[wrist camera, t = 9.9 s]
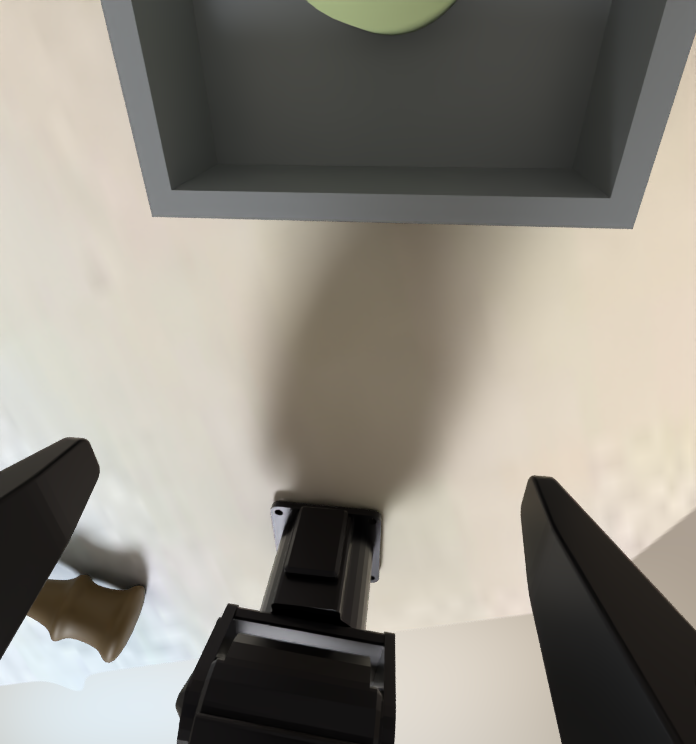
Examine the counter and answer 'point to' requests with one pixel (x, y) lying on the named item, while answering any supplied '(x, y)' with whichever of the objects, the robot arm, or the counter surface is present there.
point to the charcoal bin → (400, 110)
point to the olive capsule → (384, 13)
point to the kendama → (89, 613)
